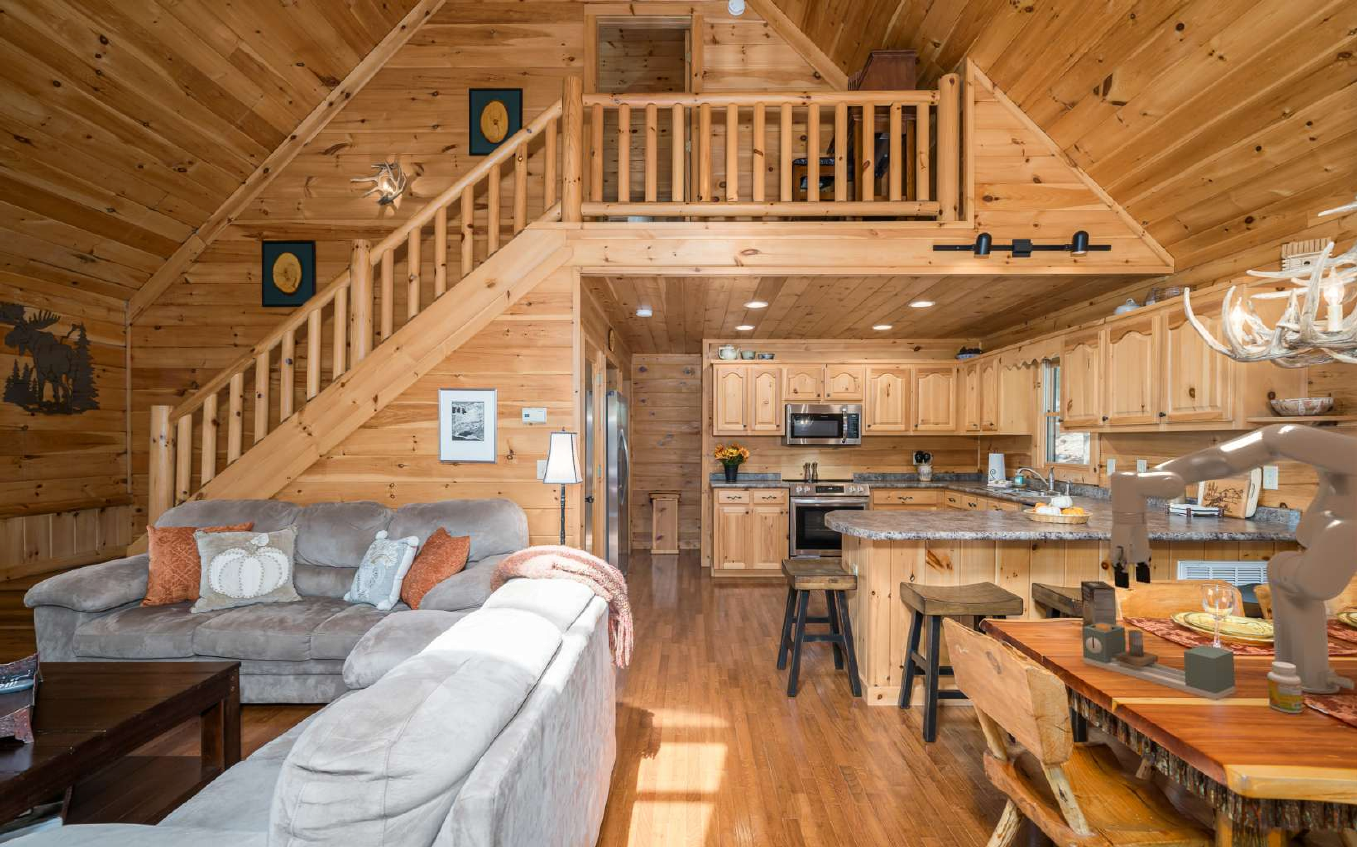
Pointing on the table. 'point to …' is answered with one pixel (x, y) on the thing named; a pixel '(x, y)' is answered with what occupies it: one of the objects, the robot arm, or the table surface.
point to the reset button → (1103, 627)
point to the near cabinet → (1209, 668)
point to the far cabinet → (1103, 642)
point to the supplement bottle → (1285, 688)
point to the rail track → (1158, 676)
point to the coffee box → (1098, 603)
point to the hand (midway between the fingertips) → (1132, 584)
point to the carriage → (1136, 651)
